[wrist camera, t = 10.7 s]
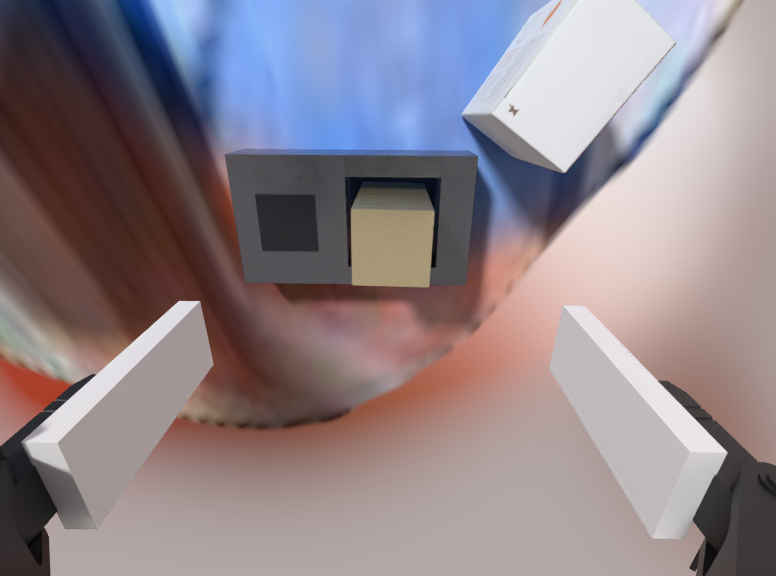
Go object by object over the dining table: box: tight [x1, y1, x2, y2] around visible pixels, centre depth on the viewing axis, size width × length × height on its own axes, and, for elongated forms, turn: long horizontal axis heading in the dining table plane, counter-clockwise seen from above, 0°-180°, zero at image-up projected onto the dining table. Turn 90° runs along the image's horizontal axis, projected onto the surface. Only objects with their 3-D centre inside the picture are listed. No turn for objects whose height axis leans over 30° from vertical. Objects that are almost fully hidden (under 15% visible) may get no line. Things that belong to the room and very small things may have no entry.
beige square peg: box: [351, 181, 435, 287], centre depth 29 cm, size 5×5×10 cm
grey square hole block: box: [225, 149, 478, 285], centre depth 32 cm, size 18×10×4 cm, turn 90°
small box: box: [461, 0, 676, 173], centre depth 25 cm, size 8×6×10 cm
